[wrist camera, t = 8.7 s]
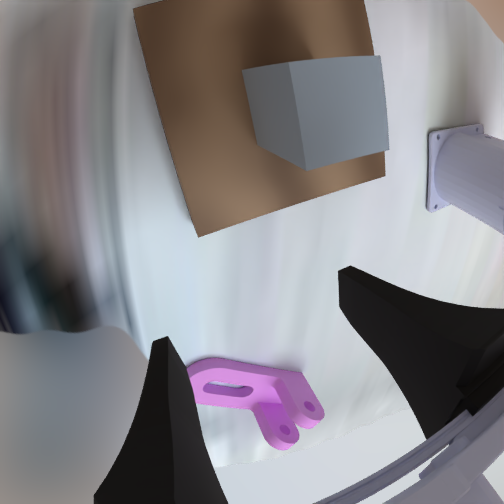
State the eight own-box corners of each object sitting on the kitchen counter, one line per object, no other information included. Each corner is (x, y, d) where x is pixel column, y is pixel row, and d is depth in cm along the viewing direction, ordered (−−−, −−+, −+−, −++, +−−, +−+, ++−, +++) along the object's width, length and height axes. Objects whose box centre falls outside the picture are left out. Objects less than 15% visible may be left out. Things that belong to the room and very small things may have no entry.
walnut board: (343, -8, 15) (360, -13, 14) (369, 168, 23) (385, 176, 21) (134, 17, 13) (133, 8, 11) (193, 224, 21) (198, 237, 19)
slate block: (313, 59, 16) (380, 55, 11) (324, 129, 18) (389, 149, 13) (241, 70, 15) (288, 62, 10) (257, 145, 17) (306, 171, 12)
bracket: (301, 371, 33) (330, 420, 27) (273, 402, 34) (296, 449, 29) (195, 351, 26) (215, 416, 21) (171, 388, 28) (184, 449, 22)
